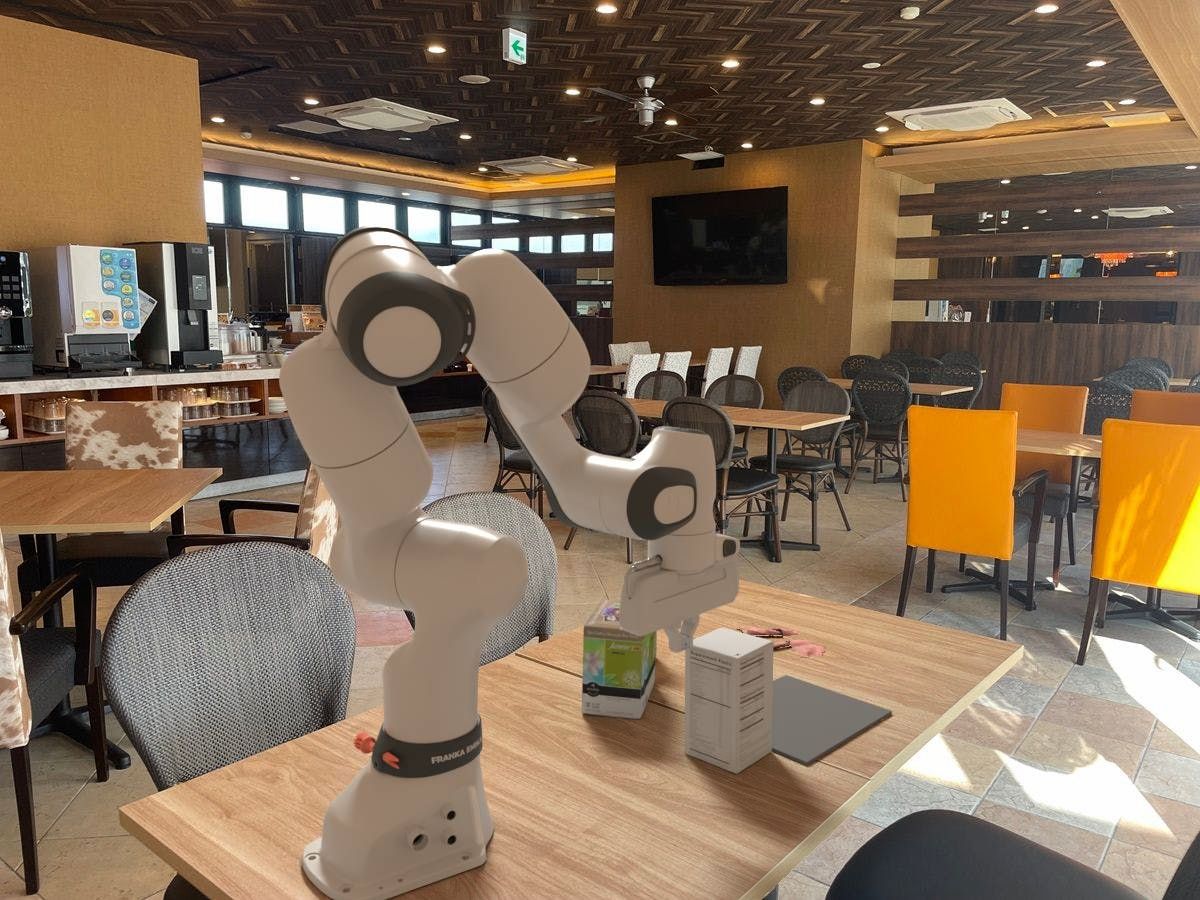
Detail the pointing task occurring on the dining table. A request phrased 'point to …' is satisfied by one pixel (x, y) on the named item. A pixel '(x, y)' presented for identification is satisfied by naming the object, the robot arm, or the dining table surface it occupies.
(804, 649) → the cloth
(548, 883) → the dining table surface
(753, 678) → the supplement box
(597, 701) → the tea box
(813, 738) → the mat
